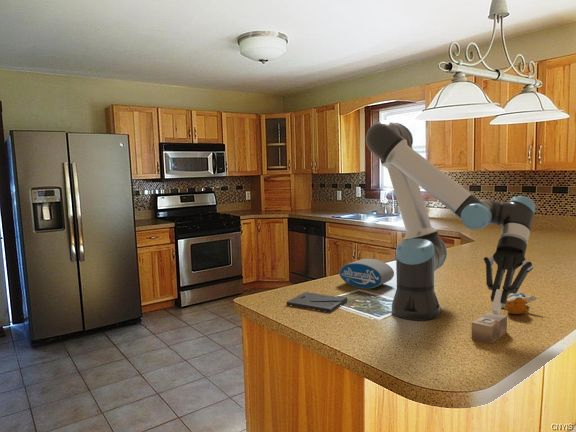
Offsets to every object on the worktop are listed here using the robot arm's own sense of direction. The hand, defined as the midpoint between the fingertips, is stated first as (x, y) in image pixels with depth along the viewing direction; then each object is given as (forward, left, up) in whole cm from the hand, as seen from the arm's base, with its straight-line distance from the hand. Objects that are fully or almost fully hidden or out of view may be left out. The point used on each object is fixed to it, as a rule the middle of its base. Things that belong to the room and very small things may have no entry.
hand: (495, 312), depth 112 cm
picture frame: (-47, -35, -8) cm, 59 cm away
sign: (-61, -8, -7) cm, 62 cm away
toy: (-14, +22, -7) cm, 27 cm away
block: (-3, +4, -5) cm, 7 cm away
